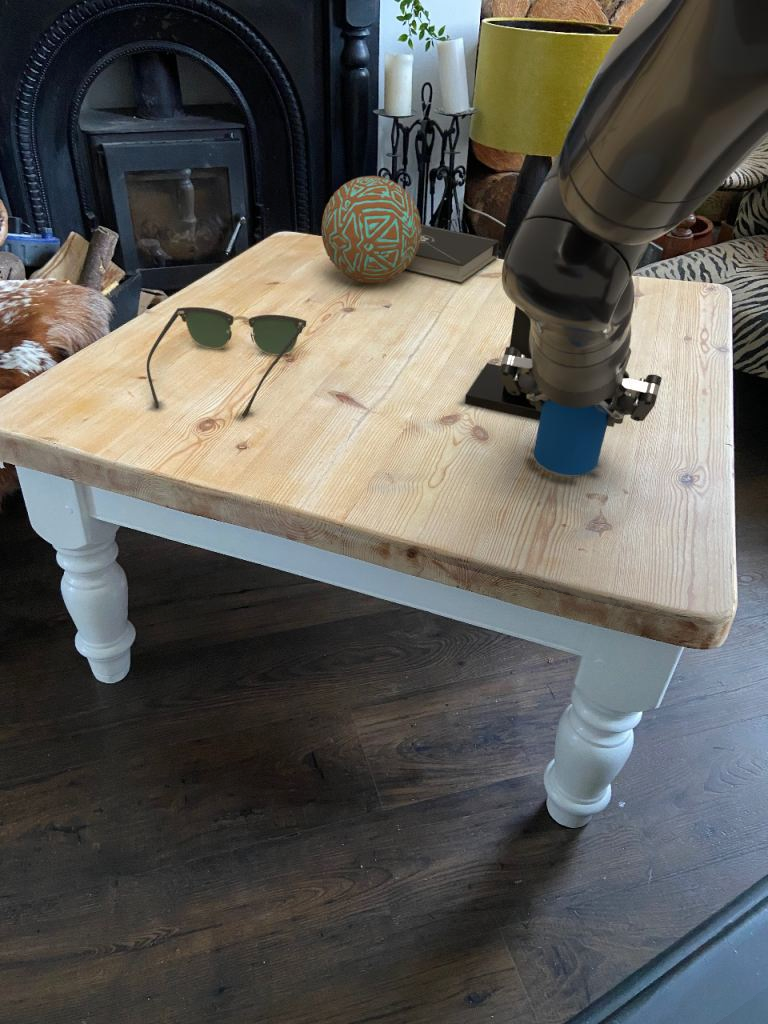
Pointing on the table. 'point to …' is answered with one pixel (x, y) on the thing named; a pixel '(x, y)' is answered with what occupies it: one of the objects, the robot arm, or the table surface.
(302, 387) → the table surface
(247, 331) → the table surface
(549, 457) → the beverage can
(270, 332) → the sunglasses
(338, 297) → the table surface
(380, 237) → the decorative sphere
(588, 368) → the robot arm
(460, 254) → the book
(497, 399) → the bracket
